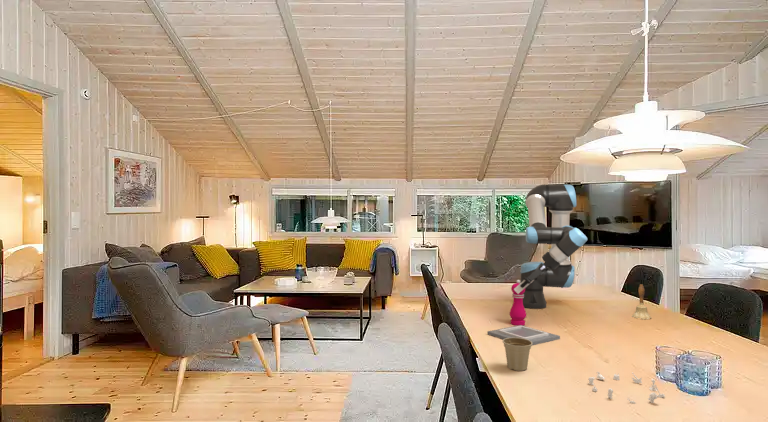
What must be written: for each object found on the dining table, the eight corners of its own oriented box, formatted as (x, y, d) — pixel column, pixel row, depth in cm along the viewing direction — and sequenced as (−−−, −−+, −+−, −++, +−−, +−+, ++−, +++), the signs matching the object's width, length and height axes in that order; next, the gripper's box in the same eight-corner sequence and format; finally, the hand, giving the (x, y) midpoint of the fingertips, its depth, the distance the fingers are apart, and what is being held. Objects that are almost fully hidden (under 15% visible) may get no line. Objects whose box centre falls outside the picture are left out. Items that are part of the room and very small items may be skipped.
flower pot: (516, 374, 146) (516, 347, 145) (496, 365, 154) (496, 339, 154) (538, 370, 150) (538, 343, 150) (517, 361, 158) (517, 336, 158)
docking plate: (487, 334, 192) (487, 329, 192) (520, 327, 203) (520, 323, 203) (526, 346, 175) (526, 341, 175) (559, 338, 186) (560, 333, 186)
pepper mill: (524, 322, 212) (524, 278, 212) (527, 326, 205) (528, 281, 205) (508, 321, 213) (508, 278, 213) (511, 325, 206) (511, 280, 206)
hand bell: (632, 318, 222) (633, 285, 222) (630, 314, 230) (631, 282, 229) (652, 320, 219) (653, 286, 219) (650, 316, 226) (650, 283, 226)
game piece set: (681, 405, 125) (681, 390, 125) (609, 407, 124) (610, 392, 124) (636, 378, 144) (636, 366, 144) (574, 379, 143) (574, 367, 143)
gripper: (557, 267, 189) (519, 300, 196) (564, 261, 211) (529, 291, 218) (544, 253, 191) (507, 286, 198) (551, 248, 213) (518, 279, 220)
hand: (518, 289), depth 208 cm, fingers open, 13 cm apart
